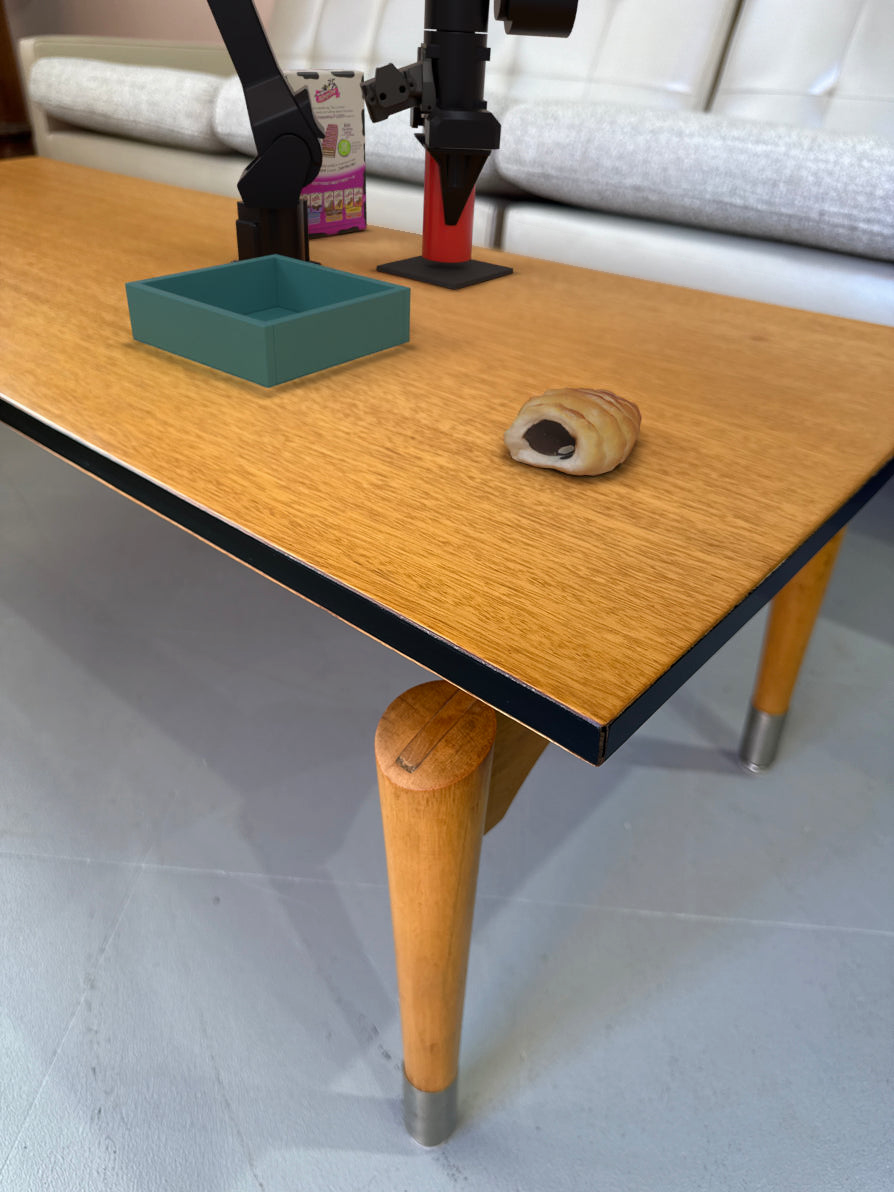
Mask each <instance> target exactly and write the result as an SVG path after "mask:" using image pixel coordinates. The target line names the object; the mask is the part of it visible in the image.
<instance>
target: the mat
mask: <svg viewBox="0 0 894 1192" xmlns="http://www.w3.org/2000/svg"><path fill="white" fill-rule="evenodd" d="M375 268H376V269H375V270H376V271H377V272H381V273H383V274H389V275H393V276H397V277H401V278H406V279H410V280H414V281H417V282H422V283H425V284H430V285H435V286H438V287H442V288H446V289H451V290H459V289H461V288H462V289H463V288H466V287H469V286H472V285H476V284H479V283H484V282H487V281H491V280H494V279H497V278H500V277H504V276H508V275H511V274H514V268H513V267H509V266H504V265H499V264H496V263H495V264H494V263H490V262H487V261H483V260H482V261H481V260H478V259H473V258H471V259H470V260H469V261H465V262H458V263H446V262H436V261H431V260H428V259H425V258H423V257H422V254H421V255H417V256H413V257H408V258H404V259H400V260H395V261H391V262H385V263H382V264H378V265H376V267H375Z"/></svg>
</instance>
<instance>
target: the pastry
mask: <svg viewBox="0 0 894 1192" xmlns="http://www.w3.org/2000/svg"><path fill="white" fill-rule="evenodd" d="M641 423H642V414H641V411H640V408H639V406H638V405H637V404H636V403H635V402H633V401H630V400H628V399H626V398H624V397H622V396H619V395H617V394H616V393H615V392H613V391H610V390H608V389H604V388H598V389H597V388H596V389H595V388H591V387H590V388H589V387H586V388H585V387H578V388H574V387H563V388H551V389H546V390H545V391H544V392H543V393H542V395H536V396H532V397H530V398H529V399H528V400H527V401H525V402H524V403H523V404H522V406H521V407H520V409H519V410H518V413H517V416H516V417H515V418H514V420H513V422H512V423H511V425H510V426H509V428H507V429H506V430H505V431H504V433H503V436H502V437H503V443H504V445H505V447H506V448H507V449H508V450H509V452H510V457H511V458H512V459H513V460H515V461H516V462H518V463H519V462H520V463H523V464H526V465H529V466H531V467H534V468H545V469H554V470H557V471H559V472H562V473H565V474H568V475H574V476H585V475H586V476H591V477H595V476H597V475H598V476H599V475H601V474H604V473H608V472H612V471H613V470H614V469H615V468H616V467H617V466H618V465H619V464H621V465H622V464H623V463H624V461H626V459H627V457H628V456H629V455H630V453H631V451H632V450H633V447H634V446H635V443H636V441H637V439H638V437H639V435H640V431H641Z"/></svg>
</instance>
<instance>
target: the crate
mask: <svg viewBox="0 0 894 1192" xmlns="http://www.w3.org/2000/svg"><path fill="white" fill-rule="evenodd" d="M124 288H125V295H126V300H127V306H128V314H129V321H130V327H131V334H132V339H133V340H134V341H136V342H139V343H142V344H145V345H147V346H151V347H154V348H156V349H159V350H162V351H164V352H167V353H169V354H172V355H175V356H178V357H181V358H184V359H186V360H189V361H192V362H194V363H197V364H200V365H203V366H206V367H209V368H211V369H214V370H217V371H220V372H222V373H225V374H228V375H230V376H233V377H236V378H239V379H242V380H244V381H247V382H249V383H253V384H255V385H257V386H261V387H264V388H267V389H271V388H273V387H276V386H279V385H283V384H285V383H289V382H291V381H294V380H295V381H296V380H297V379H300V378H304V377H307V376H309V375H313V374H316V373H318V372H322V371H325V370H328V369H330V368H331V369H332V368H334V367H337V366H340V365H343V364H346V363H348V362H349V363H350V362H353V361H354V360H355V361H356V360H359V359H361V358H364V357H367V356H370V355H374V354H377V353H379V352H383V351H385V350H388V349H392V348H395V347H398V346H400V345H403V344H406V343H409V342H410V335H411V334H410V329H411V296H412V295H411V291H412V290H411V287H409V286H405V285H401V284H397V283H393V282H390V281H385V280H381V279H377V278H374V277H370V276H366V275H361V274H358V273H357V274H356V273H353V272H349V271H346V270H341V269H337V268H334V267H329V266H325V265H322V264H321V265H317V264H313V263H309V262H305V261H301V260H297V259H293V258H289V257H285V256H281V255H277V254H274V255H269V256H263V257H258V258H253V259H248V260H243V261H237V262H232V263H231V262H228V263H223V264H217V265H216V264H215V265H212V266H206V267H201V268H196V269H191V270H186V271H180V272H175V273H170V274H164V275H160V276H159V275H158V276H155V277H149V278H145V279H138V280H135V281H134V280H133V281H128V282H125V283H124Z"/></svg>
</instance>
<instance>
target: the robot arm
mask: <svg viewBox="0 0 894 1192" xmlns="http://www.w3.org/2000/svg"><path fill="white" fill-rule="evenodd" d="M579 1H580V0H493V19H494V20H495V21H498V22H503V30H504V32H505V34H506V35H509V36H523V37H524V36H525V37H526V36H527V37H542V38H557V39H558V38H560V39H568V38H569V37H570V36H571V34H572V32H573V30H574V26H575V23H576V17H577V13H578V9H579V8H578V7H579ZM206 2H207V5H208V8H209V10H210V12H211V14H212V16H213V19H214V21H215V24H216V26H217V29H218V31H219V34H220V36H221V38H222V41H223V43H224V45H225V47H226V50H227V53H228V55H229V58H230V60H231V62H232V65H233V67H234V70H235V72H236V75H237V78H238V80H239V81H240V84H241V88H242V92H243V96H244V103H245V106H246V111H247V116H248V121H249V125H250V130H251V134H252V137H253V141H254V145H255V149H256V153H257V155H255V157H253V159H252V160H251V161H250V162H249V163H248V165H246V167H244V169H243V170H242V172H241V174H240V176H239V179H238V180H237V184H236V188H237V190H238V193H239V196H240V198H241V200H238V201H236V209H237V219H236V220H235V231H236V233H235V234H236V244H237V245H236V246H237V257H238V258H237V259H235V260H231V261H230V263H232V262H237V261H243V260H248V259H253V258H258V257H263V256H269V255H274V254H277V255H281V256H285V257H289V258H293V259H297V260H301V261H305V262H309V263H313V264H317V265H321V266H322V262H319V261H315V260H311V259H310V238H309V230H308V204H307V200H305V199H300V195H301V191H302V188H304V187H306V186H308V185H309V184H311V183H312V182H313V181H314V180H315V178H316V177H317V176H318V174H319V172H320V169H321V166H322V162H323V153H322V143H321V139H325V129H324V127H323V126H322V125H321V123H320V122H319V121H318V119H317V117H316V115H315V113H314V110H313V107H312V102H311V98H310V93H309V89H308V86H307V85H304V86H303V87H301V88H300V89H298V90H297V91H296V92H295V91H294V90H293V88H292V87H291V85H290V83H289V82H288V80H287V78H286V77H285V75H284V73H283V72H282V70H283V69H282V68H281V66H280V65H279V61H278V58H277V57H276V54H275V51H274V48H273V46H272V42H271V41H270V38H269V36H268V34H267V30H266V28H265V26H264V23H263V20H262V17H261V16H260V15H261V14H260V13H259V10H258V8H257V5H256V3H255V0H206ZM490 4H491V0H424V11H423V12H424V13H423V14H424V15H423V16H424V17H423V29H424V30H423V42H420V46H417V51H416V52H417V53H416V56H417V57H416V62H414V63H409V64H407V65H404V66H401V67H399V68H397V67H396V65H394V63H393V62H388V64H385V65H383V66H377V67H375V71H374V77H371V78H368V79H366V80H364V82H362V83H360V84H359V85H360V88H361V91H362V94H363V97H364V105H365V106H366V110H367V113H368V116H369V119H370V121H371V124H376V123H381V122H383V121H386V120H388V119H389V117H391V116H392V115H395V114H398V113H401V112H403V111H407V110H409V126H410V127H411V129H419V127H422V129H421V130H422V131H421V132H414V133H413V136H414V138H415V139H416V140H417V141H418V143H419V144H420V145H421V146H422V148H424V150H425V149H426V150H427V151H428V153H429V154H430V155H431V156H432V157H433V159H434V160H435V161H436V162H437V164H438V169H439V178H440V187H441V195H442V204H443V213H444V221H445V224H446V225H452V226H454V225H456V224H457V223H458V220H459V218H460V216H461V214H462V212H463V209H464V207H465V205H466V203H467V201H468V198H469V196H470V194H471V192H472V190H473V188H474V185H475V183H476V184H477V182H478V179H479V177H480V175H481V174H482V171H483V169H484V167H485V164H486V162H487V161H488V159H489V157H490V156H492V152H493V150H500V148H501V134H502V124H501V123H500V122H499V120H498V119H497V117H496V116H495V115H494V113H493V112H492V111H490V110H488V100H485V99H484V98H485V83H486V82H485V81H486V66H487V62H491V52H492V47H488V33H489V19H490V6H491V5H490Z"/></svg>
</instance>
